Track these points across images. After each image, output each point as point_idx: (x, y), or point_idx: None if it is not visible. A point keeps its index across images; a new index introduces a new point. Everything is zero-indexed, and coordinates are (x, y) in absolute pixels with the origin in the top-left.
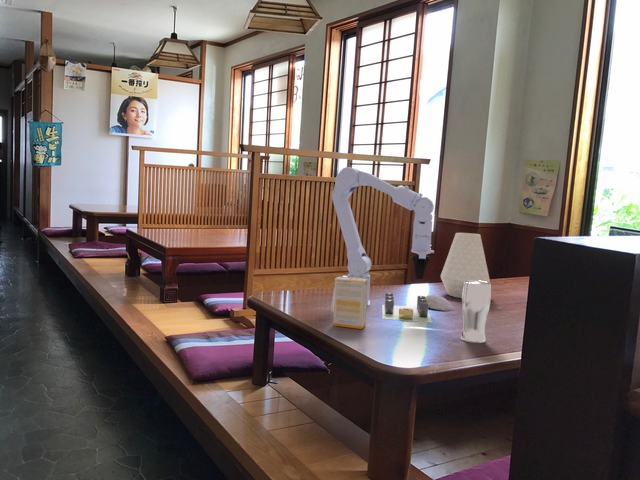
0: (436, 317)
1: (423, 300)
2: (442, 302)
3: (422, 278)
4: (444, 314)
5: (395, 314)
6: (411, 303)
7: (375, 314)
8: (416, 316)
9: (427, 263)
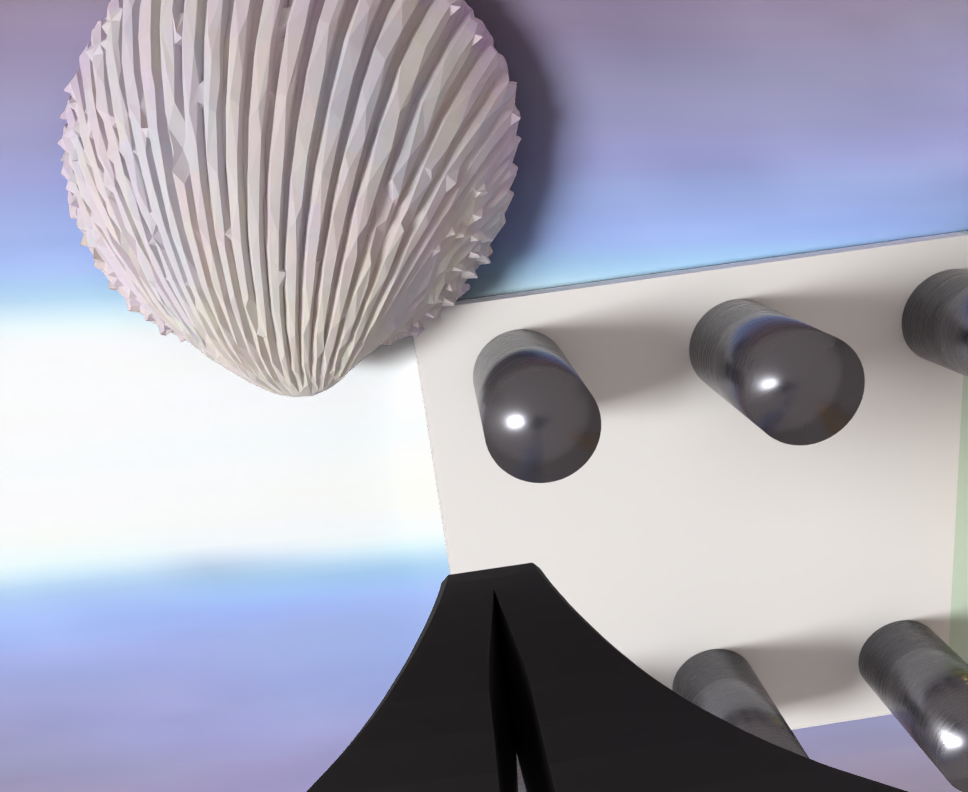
0: (808, 162)
1: (856, 378)
2: (410, 90)
3: (539, 570)
4: (591, 61)
5: (926, 596)
6: (105, 508)
7: (877, 754)
8: (956, 389)
9: (783, 750)
